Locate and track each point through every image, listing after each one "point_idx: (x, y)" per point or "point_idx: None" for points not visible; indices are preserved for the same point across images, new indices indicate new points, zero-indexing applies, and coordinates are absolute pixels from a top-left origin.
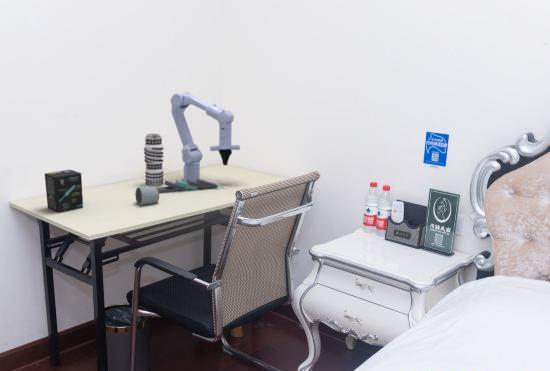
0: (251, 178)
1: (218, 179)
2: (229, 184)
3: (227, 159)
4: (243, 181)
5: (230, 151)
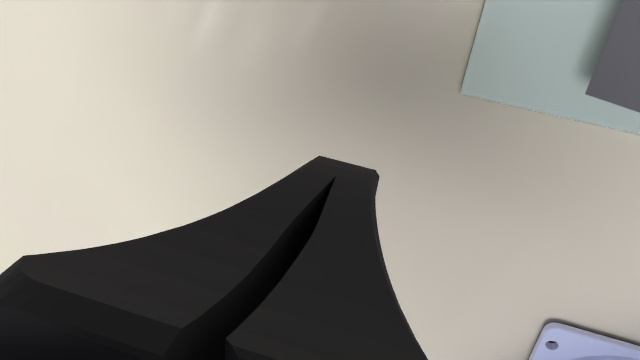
0: (8, 166)
1: None
2: (322, 80)
3: (270, 209)
4: (117, 111)
5: (26, 307)
